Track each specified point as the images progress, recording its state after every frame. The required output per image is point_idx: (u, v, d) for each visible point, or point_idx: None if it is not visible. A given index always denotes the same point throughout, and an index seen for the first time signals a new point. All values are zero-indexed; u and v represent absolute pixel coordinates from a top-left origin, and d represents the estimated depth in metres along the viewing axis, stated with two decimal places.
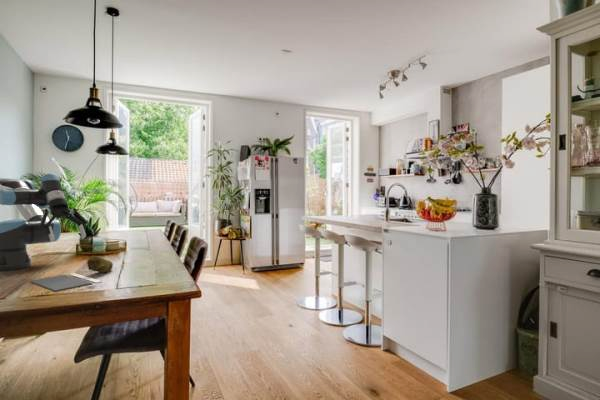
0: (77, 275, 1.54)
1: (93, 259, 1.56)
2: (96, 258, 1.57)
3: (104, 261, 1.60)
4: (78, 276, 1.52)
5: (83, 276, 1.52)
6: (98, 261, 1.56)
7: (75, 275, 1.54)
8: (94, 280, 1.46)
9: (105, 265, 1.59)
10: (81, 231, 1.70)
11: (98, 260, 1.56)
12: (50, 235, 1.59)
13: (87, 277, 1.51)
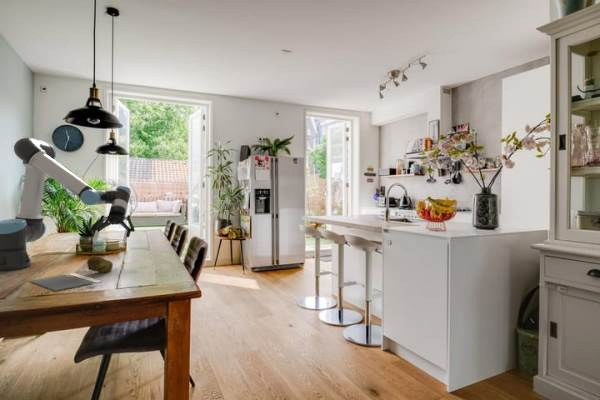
0: (77, 275, 1.54)
1: (93, 259, 1.56)
2: (96, 258, 1.57)
3: (104, 261, 1.60)
4: (78, 276, 1.52)
5: (83, 276, 1.52)
6: (98, 261, 1.56)
7: (75, 275, 1.54)
8: (94, 280, 1.46)
9: (105, 265, 1.59)
10: (96, 237, 1.70)
11: (98, 260, 1.56)
12: (126, 238, 1.72)
13: (87, 277, 1.51)
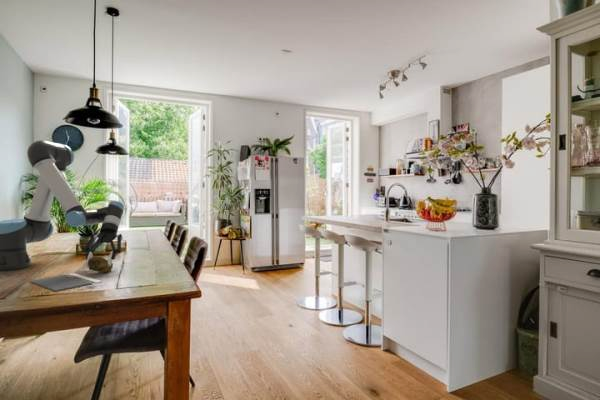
0: (77, 275, 1.54)
1: (94, 259, 1.56)
2: (97, 258, 1.57)
3: (105, 261, 1.60)
4: (78, 276, 1.52)
5: (83, 276, 1.52)
6: (99, 261, 1.56)
7: (75, 275, 1.54)
8: (94, 280, 1.46)
9: (106, 265, 1.60)
10: None
11: (99, 260, 1.57)
12: (111, 260, 1.60)
13: (87, 277, 1.51)
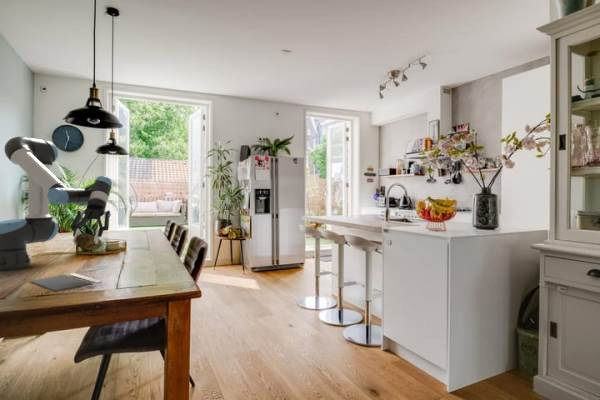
0: (77, 275, 1.54)
1: (82, 236, 1.48)
2: (85, 235, 1.49)
3: (93, 238, 1.52)
4: (78, 276, 1.52)
5: (83, 276, 1.52)
6: (88, 238, 1.49)
7: (75, 275, 1.54)
8: (94, 280, 1.46)
9: None
10: None
11: (88, 237, 1.49)
12: (97, 238, 1.52)
13: (87, 277, 1.51)
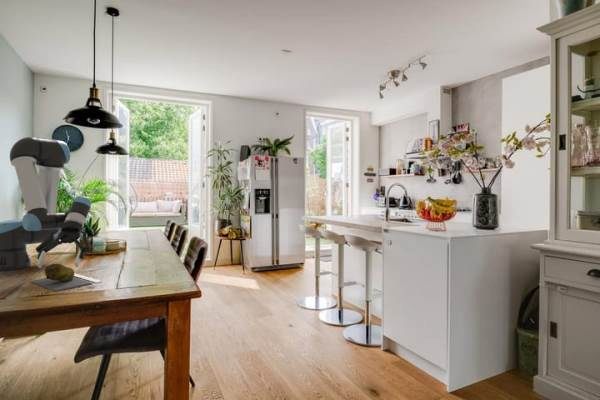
0: (77, 275, 1.54)
1: (52, 267, 1.38)
2: (55, 265, 1.38)
3: (65, 268, 1.41)
4: (78, 276, 1.52)
5: (83, 276, 1.52)
6: (58, 269, 1.38)
7: (75, 275, 1.54)
8: (94, 280, 1.46)
9: (67, 273, 1.41)
10: (42, 259, 1.41)
11: (58, 268, 1.38)
12: (79, 260, 1.43)
13: (87, 277, 1.51)
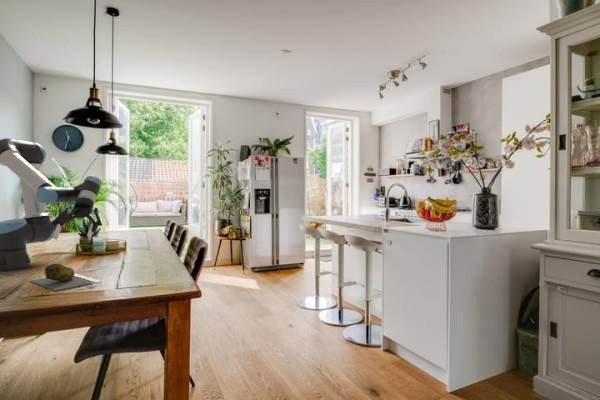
0: (77, 275, 1.54)
1: (52, 267, 1.38)
2: (55, 265, 1.38)
3: (65, 268, 1.41)
4: (78, 276, 1.52)
5: (83, 276, 1.52)
6: (58, 269, 1.38)
7: (75, 275, 1.54)
8: (94, 280, 1.46)
9: (67, 273, 1.41)
10: (58, 231, 1.54)
11: (58, 268, 1.38)
12: (91, 233, 1.56)
13: (87, 277, 1.51)
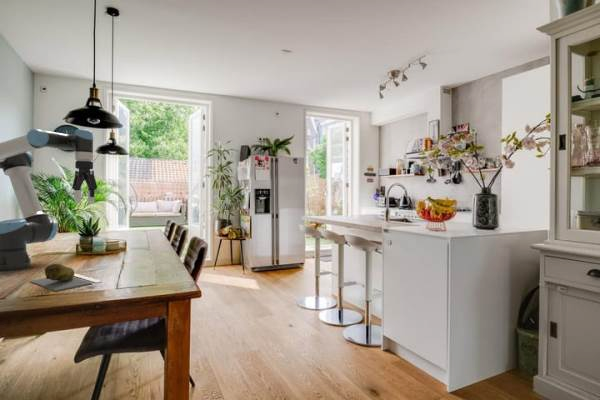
0: (77, 275, 1.54)
1: (52, 267, 1.38)
2: (55, 265, 1.38)
3: (65, 268, 1.41)
4: (78, 276, 1.52)
5: (83, 276, 1.52)
6: (58, 269, 1.38)
7: (75, 275, 1.54)
8: (94, 280, 1.46)
9: (67, 273, 1.41)
10: (78, 196, 1.76)
11: (58, 268, 1.38)
12: (91, 199, 1.69)
13: (87, 277, 1.51)
